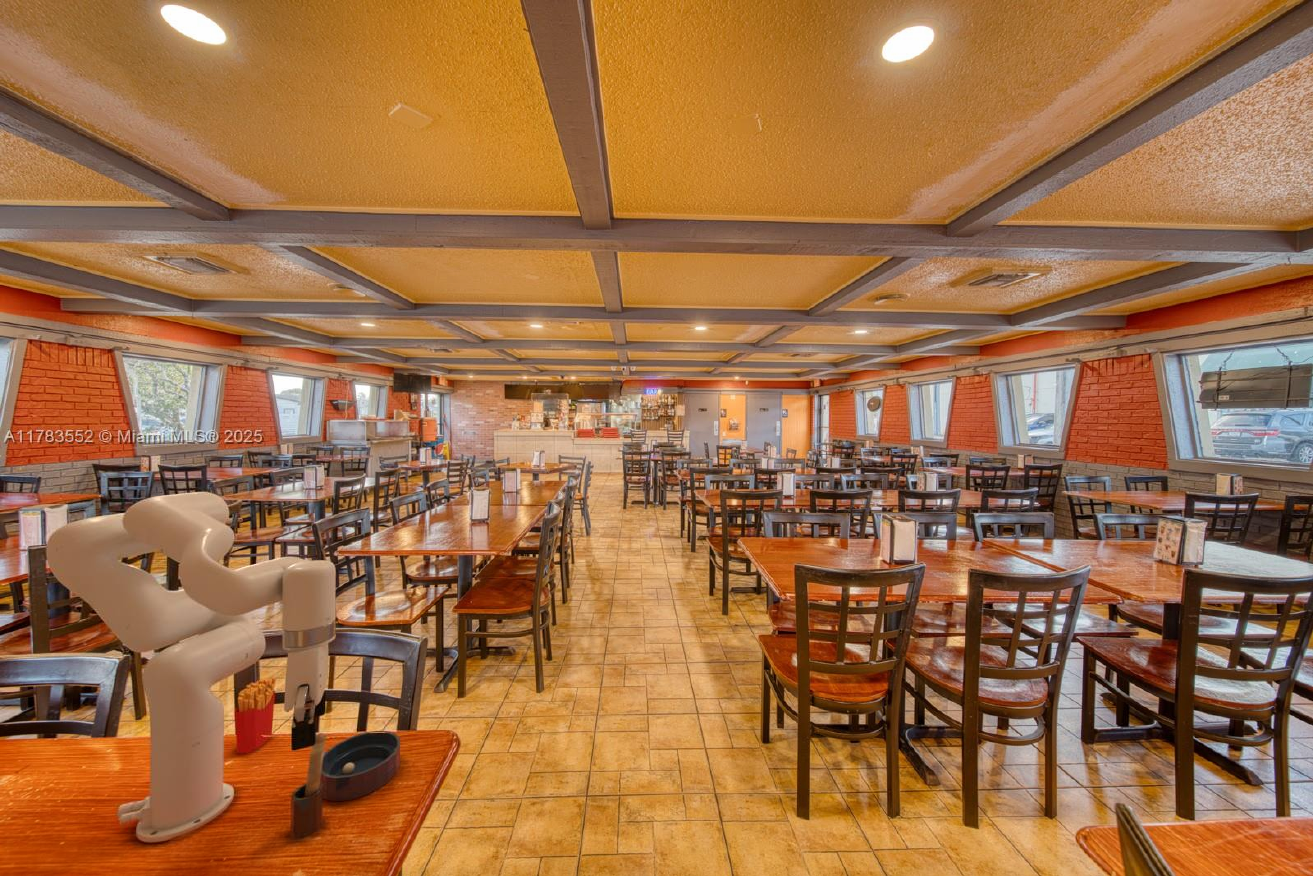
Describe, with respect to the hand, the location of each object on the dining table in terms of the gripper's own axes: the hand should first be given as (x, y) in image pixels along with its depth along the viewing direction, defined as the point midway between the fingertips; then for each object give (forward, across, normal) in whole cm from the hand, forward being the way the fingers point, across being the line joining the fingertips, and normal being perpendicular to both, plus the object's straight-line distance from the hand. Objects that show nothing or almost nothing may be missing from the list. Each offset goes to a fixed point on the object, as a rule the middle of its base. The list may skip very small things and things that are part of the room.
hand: (309, 731), depth 82 cm
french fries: (+17, -34, -15) cm, 41 cm away
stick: (+17, 0, 0) cm, 17 cm away
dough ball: (+16, -12, +4) cm, 21 cm away
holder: (+17, 0, 0) cm, 17 cm away
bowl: (+17, -11, +7) cm, 22 cm away
